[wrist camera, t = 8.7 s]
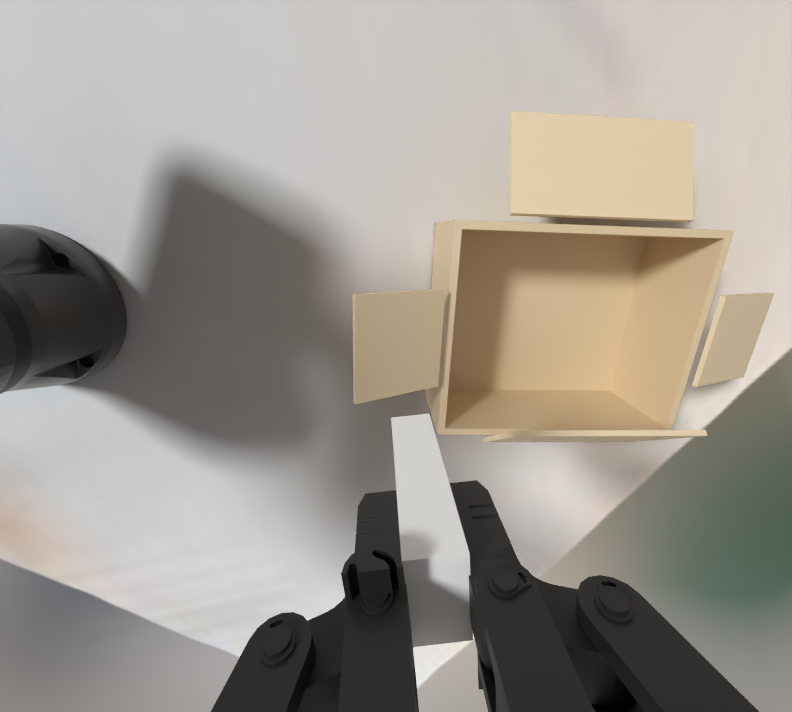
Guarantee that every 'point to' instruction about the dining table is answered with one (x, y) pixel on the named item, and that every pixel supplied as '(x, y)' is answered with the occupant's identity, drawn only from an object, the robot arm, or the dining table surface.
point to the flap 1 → (396, 342)
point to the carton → (568, 324)
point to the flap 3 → (591, 435)
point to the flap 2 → (600, 167)
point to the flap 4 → (732, 337)
